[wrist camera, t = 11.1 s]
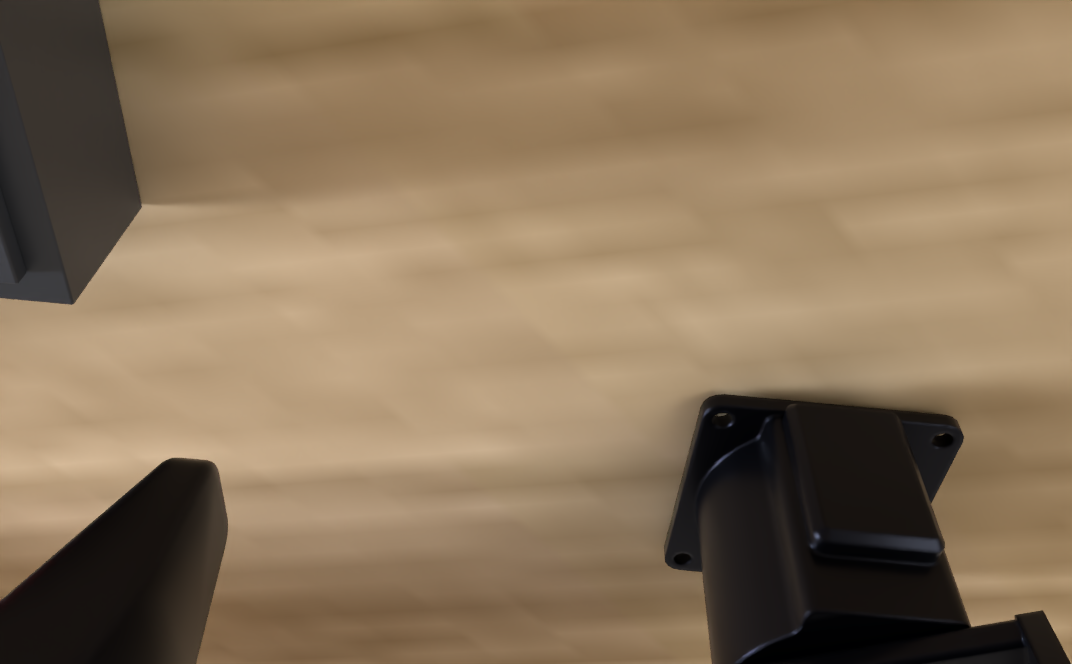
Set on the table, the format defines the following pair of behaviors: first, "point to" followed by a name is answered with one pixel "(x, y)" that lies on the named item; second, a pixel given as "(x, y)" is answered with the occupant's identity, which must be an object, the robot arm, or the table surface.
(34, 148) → the black case
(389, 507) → the table surface
